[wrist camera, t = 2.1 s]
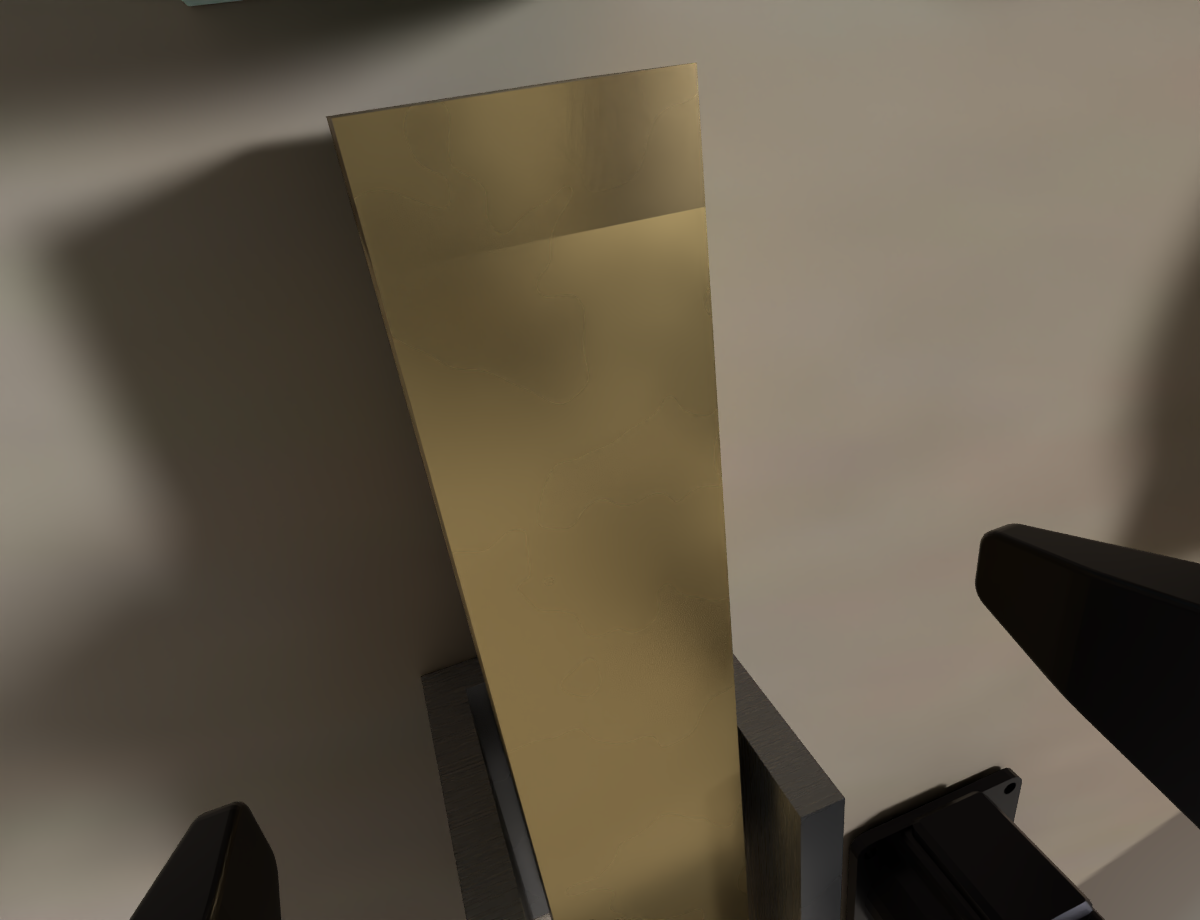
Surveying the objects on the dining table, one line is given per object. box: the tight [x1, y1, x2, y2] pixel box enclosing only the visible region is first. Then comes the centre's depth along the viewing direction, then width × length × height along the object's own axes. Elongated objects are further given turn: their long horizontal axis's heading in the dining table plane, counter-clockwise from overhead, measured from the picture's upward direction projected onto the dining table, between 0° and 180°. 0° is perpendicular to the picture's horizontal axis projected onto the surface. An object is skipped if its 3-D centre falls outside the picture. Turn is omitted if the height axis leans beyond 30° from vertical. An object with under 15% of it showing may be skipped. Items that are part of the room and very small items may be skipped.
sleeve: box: [421, 654, 845, 920], centre depth 15 cm, size 8×6×7 cm
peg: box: [326, 63, 749, 920], centre depth 13 cm, size 18×4×4 cm, turn 7°
